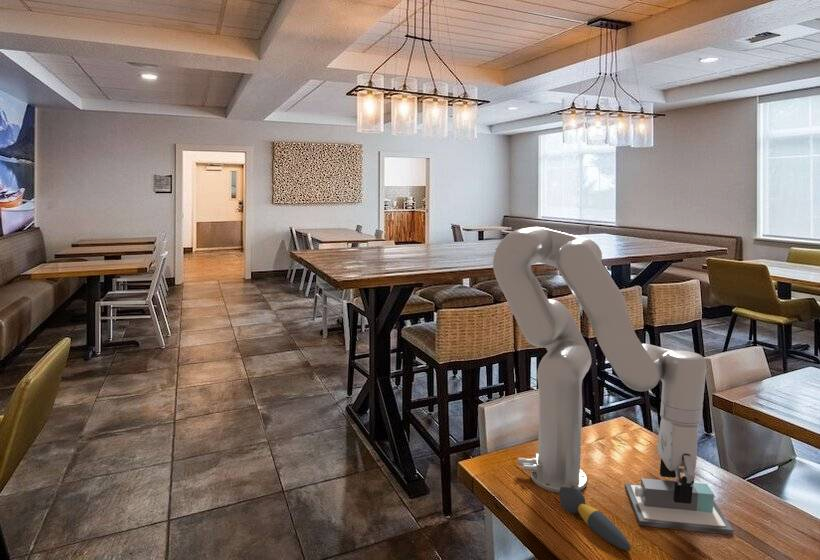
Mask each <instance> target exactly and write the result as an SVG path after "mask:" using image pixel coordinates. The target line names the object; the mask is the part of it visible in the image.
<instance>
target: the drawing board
mask: <svg viewBox="0 0 820 560" xmlns="http://www.w3.org/2000/svg"><path fill="white" fill-rule="evenodd" d="M635 486H637V487H641V484H639V483H638V484H637V483H629V482H628V483H627V482H626V483H624V489H625V492H626V494H627V497H628V499H629V501H630V504H631V507H632V510H633V512H634V514H635V517H636V520H637V522H638V525H639V526H643V527H650V528H651V527H653V528H660V529H663V528H664V529H671V530H672V529H673V530H683V531H692V532H702V533H709V534H710V533H711V534H721V535H734V529H733V527H732V526H731V525H730V523H729V521H728V520H727V518H726V517H725V515H724V514H723V512H722V511H721V509H720V508H719V506H718V505H717V504H716V502H715V501H714V503H713V513H712V512H702V511H691V510H681V509H670V508H659V507H649V506H644V503H643V501H642V499H641V497H637V496H636V495H635Z"/></svg>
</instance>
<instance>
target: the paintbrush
mask: <svg viewBox="0 0 820 560" xmlns="http://www.w3.org/2000/svg"><path fill="white" fill-rule="evenodd" d="M558 497H559V502H560V505H561V507H562V509H564V511H566V512H567V513H569V514H579V515H580V516H581V518H582V519H583V521H584V522H585V523H586V525H587V527H589V528H590V529H591V530H592V531H593V532H594V533H596V535H598V536H599V537H601V538H602V539H603V540H605V541H606V542H608V543H609V544H611V545H613V546H615V547H617V548H618V549H621V550H623V551H631V544H630V542H629V541H628V539H627V538H626V536H625V535H624V533H623V532H622V530H620V529H619V527H618V526H617V525H615V524H614V522H612V520H610V518H608V517H607V516H606V515H605V514H604V513H603V512H601V511H599V510H598V509H597V508H594V507H592V506H590V505H587V504H586V498H585V495H584V494H583V492H582V490H578V489H576V488H570V487H561V488H560V491H559V493H558Z"/></svg>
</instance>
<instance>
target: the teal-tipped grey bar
mask: <svg viewBox="0 0 820 560" xmlns="http://www.w3.org/2000/svg"><path fill="white" fill-rule="evenodd" d="M675 482H676V483H677V481H676V480H666V479H654V478H640V485H641V487H637V486H635V495H636V496H637V497H641V499H642V501H643V503H644V506H649V507H659V508H670V509H681V510H691V511H702V512H712V513H713V503H714V502H715V501H714V500H715V494H714V492H713V491H712V489H711V487H710V486H709V485H708V483H701V482H700V483H699V482H694V483H693V484H694V485H693V490H692V501H691V503H690V504H687V503H677V502H674V500H673V497H674V485H675Z"/></svg>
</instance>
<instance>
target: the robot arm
mask: <svg viewBox="0 0 820 560" xmlns="http://www.w3.org/2000/svg"><path fill="white" fill-rule="evenodd" d="M602 260H603V253H602V250H601V248H600V246H599V245H598V244H597V242H595V241H593V240H591V239H589V238H586V237H583V236H579V235H574V234H569V233H567V232H561V231H558V230H555V229H554V230H553V229H550V228H547V227H542V226H530V227H524V228H523V227H522V228H518V229H515V230H513V231H511V232H510V233H508V234H506V236H505V237H503V239H501V241H499V244H498V245H497V247H496V249H495V251H494V254H493V261H492V267H493V273H494V276H495V279H496V281H497V284H498V286H499V288H500V290H501V291H502V293H503V295H504V297H505V299H506V301H507V303H508V306H509V308H510V310H511V313H512V315H513V317H514V319H515V320H516V322H517V324H518V327H519V328H520V331H521V333H522V335H523V337H524V338H525V340H526V341H527V342H528V344H531V345H532V346H534V347H538V348H542V347H545V349H546V351H547V352H546V353H545V355H544V356H542V358H541V360H540V362H539V364H538V368H537V375H536V376H537V377H536V379H537V385H538V386H537V387H538V388H537V389H538V446H537V447H538V448H537V453H535V457H531V458H526V457H518V458H517V462H518V463H517V465H518V467H523V471H524V472H530V477H531V480H532V482H534V484H535V485H537V486H538V487H540V488H542V489H544V490H546V491H549V492H552V493H556V494H557V493H558V494H559V491H560V488H561V487H570V488H576V489H578V490H580V491H582V490H584V489H585V487H586V486H587V483H588V481H587V480H588V478H587V475H586V473H585V472H584V471H583V470H582V469H581V455H582V430H583V429H582V427H583V424H582V423H583V394H582V392H583V391H582V387H583V386H582V385H583V380H584V378H585V376H586V374H587V373H588V372H589V370H590V369H591V365H592V354H591V352H590V348H589V346H588V344H587V342H586V340H585V338H584V337H583V334H582V331H581V330H580V328H579V327H578V325H577V322H576V320H575V318H574V316H573V315H572V313H571V312H570V310H569V309H568V307H567V306H566V305H565V304H563V303H562V302H561V301H558V300H557V299H552V298H551V299H550V298H548V296H547V295H546V293H545V291H544V289H543V287H542V285H541V283H540V281H539V279H537V277H536V275H535V274H534V273H533V271H532V266H533V265H534V264H536V263H541V264H543V265H548V266H550V267H554V268H556V269H557V271H558V272H559V274H560V276H561V277H562V279H563V281H564V282H565V284H566V285H567V286H568V288H569V290H570V291H571V293H572V295H573V297H575V299H576V301H577V302H578V303H579V306H580V307H581V308H582V310H583V312H584V313H585V315H586V317H587V318H588V321H589V324H590V328H591V329H592V331H593V333H594V336H595V338H596V340H597V342H598V345H599V347H600V349H601V352H602V353H603V355H604V357H605V359H606V361H608V364H610V367H612V369H613V372H615V374H616V375H617V376H618V379H619V380H621V382H622V383H623V384H624V386H626V387H628V388H629V389H631V390H634V391H637V392H648V391H651V390H652V389H654V388H655V387H656V386H657V385H658V384H659V382H660V381H661V383H662V386H661V396H660V398H661V399H660V400H661V402H660V413H659V415H660V416H659V417H660V418H661V419H660V424H659V429H658V436H657V437H658V438H657V445H656V446H657V447H656V448H657V453H658V454H659V456H660V466H659V476H660V477H664V478H675V481H677V483H676V482H675V485H674V497H673V500H674V502H677V503H687V504H690V503H691V501H692V490H693V485H694V484H693V483H695V478H696V472H695V471H696V465H697V458H698V426H699V425H701V424H702V419H703V409H704V408H703V407H704V398H705V397H704V396H705V395H704V393H705V384H706V376H707V374H706V373H707V360H706V358H705V357H704V356H702V354H700V353H697V352H693V351H688V350H680V349H679V350H673V349H668V348H666V347H665V348H664V347H661V346H657V345H653V344H649V343H642V342H641V340H640V339H639V337H638V336H637V333H636V332H635V329H634V328H633V326H632V322H631V321H630V317H629V312H628V306H627V302H626V299H625V296H624V295H623V293H622V291H621V290H620V289H619V287H618V286H617V284H616V282H615V280H614V279H613V277H611V275H610V273H609V272H608V270H607V269H606V267H605V265H604V264H603V263H602ZM682 467H684V468H682ZM681 473H682V474H684V476H682V477H681Z"/></svg>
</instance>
